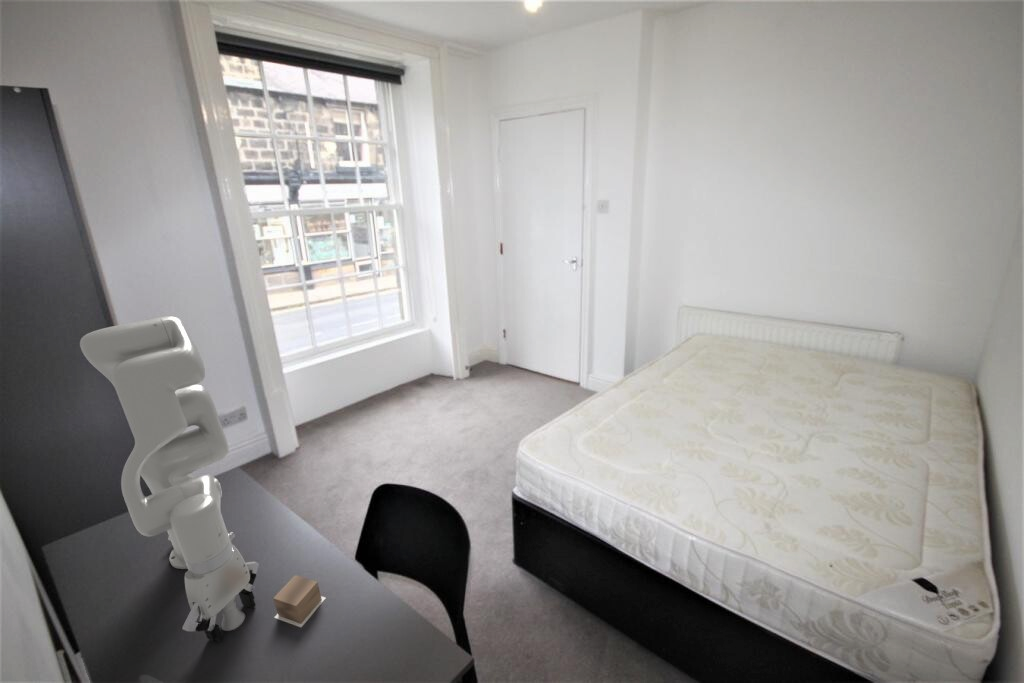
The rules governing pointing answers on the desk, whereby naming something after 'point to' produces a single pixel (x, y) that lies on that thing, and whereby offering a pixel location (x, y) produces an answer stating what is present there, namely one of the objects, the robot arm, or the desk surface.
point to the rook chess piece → (231, 616)
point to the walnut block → (297, 599)
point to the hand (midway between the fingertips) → (233, 621)
